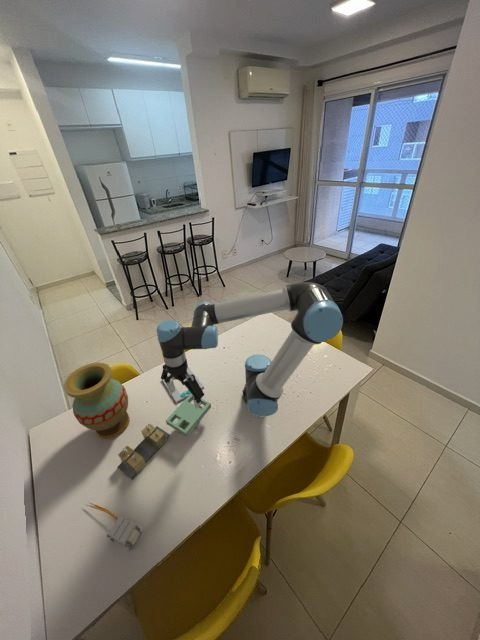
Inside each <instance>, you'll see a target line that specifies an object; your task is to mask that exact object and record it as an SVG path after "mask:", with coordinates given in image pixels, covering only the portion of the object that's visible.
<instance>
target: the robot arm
mask: <svg viewBox="0 0 480 640" xmlns="http://www.w3.org/2000/svg"><path fill="white" fill-rule="evenodd" d="M281 311H288V312H295V311H297V313H296V315H295V317H294V318H293V320H292V322H291V323H290V328H291V331H290V332H289V334H288V336H287V337H286V339H285V341H284V342H283V343H282V345H281V347H280V348H279V349H278V351H277V352H276V354H275V356H274V357H273V358H272V360H271V358H270V357H269V356H266V355H264V354H252V355H250V356H248V357H247V358H246V360H245V362H244V370H245V385H244V387H243V388H242V399H243V401H244V402H245V404H246V405H247V409H248V411H249V413H250V414H252V415H254V416H257V417H269V416H272V415H274V414H276V413H277V412H278V410H279V403H278V402H279V399H280V398H281V396H282V395H283V393H284V386H285V384H286V383H287V382H288V380H289V379H290V378H291V376H292V375H293V374H294V372H295V371H296V370H297V368H298V367H299V366H300V365H301V363H302V362H303V360H304V359H305V357H306V356H307V355H308V354H309V352H310V351H311V350H312V348H313V347H314V346H315V345H321V344H322V343H326V342H329V340H333V339H334V338H335V337H337V336H338V335H339V333H340V331H341V330H342V328H343V324H344V317H343V314H342V312H341V309H340V308H339V306H338V304H337V303H336V302H335V301H334V299H333V298H332V296H331V294H330V293H329V291H328V289H327V288H326V287H324V285H321V284H319V283H316V282H308V281H307V282H306V281H304V282H303V281H302V282H295V283H290V284H286V285H283V287H282V288H281V289H280V288H279V289H277V290H272V291H267V292H262V293H259V294H254V295H249V296H245V297H241V298H237V299H236V298H234V299H231V300H227V301H222V302H219V303H218V302H217V303H213V304H212V303H211V302H209V301H201V302H199V303H197V305H196V306H195V309H194V311H193V319H192V323H191V326H186V327H185V326H181V325H180V323H179V322H178V321H176V320H173V319H172V320H171V319H167V320H165V321H162V322H161V323H159V324H158V326H157V327H156V335H157V341H158V343H159V347H160V350H161V354H162V358H163V362H164V364H163V365H162V372H161V376H160V379H161V381H162V380H163V379H164V381H165V382H166V384H167V387H168V389H167V391H168V390H169V391H168V394H169V395H170V396H172V395H171V394H172V393H173V392H174V391H175V387H176V386H175V383H174V380H177V381H179V382H180V383H181V385H182V386H185V387H186V388H187V390H189V391H190V392H191V394H192V395H193V396H194V397H193V400H192V401H193V404H194V406H195V409H197V408H198V407H199V406H201V405H202V404H201V402H200V401H201V399H203V397H204V396H205V393H204V391H203V389H201V388H200V386H199V384H198V382H197V381H196V379H195V376H196V375H195V373H194V374H192V375H188V373H187V368H188V367H189V365H188V360H187V355H186V351H187V350H208V349H216V348H217V347H218V345H219V332H218V331H219V330H218V327H217V326H215V325H219V324H223V323H228V322H233V321H237V320H242V319H247V318H252V317H257V316H262V315H266V314H270V313H275V312H276V313H277V312H281ZM170 374H171V375H170ZM168 375H170V376H169V377H168ZM194 375H195V376H194ZM172 377H174V378H175V379H173V380H172V379H171V378H172ZM170 379H171V380H170ZM167 387H166V388H167Z"/></svg>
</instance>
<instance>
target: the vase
mask: <svg viewBox="0 0 480 640" xmlns="http://www.w3.org/2000/svg"><path fill="white" fill-rule="evenodd" d="M63 390H64V392H65V393H66V394H67V396H69V397H71V398H73V401H72V412H73V416H74V418H75V419H76V420H77V422H79V425H81V426H82V427H85V428H87V429H89V430H93V431H95V433H96V434H97V436H98V438H101V439H102V440H111V439H115V438H117V437H118V436H120V435H121V434H123V432H125V431H126V429H127V428H128V426H129V424H130V415H129V413H128V407H129V395H128V393H127V390H126V388H125V387H124V385H123V384H122V383H121V382H120V381H118V380H117V379H114V378H113V371H112V368H111V367H110V366H109V364H107V363H105V362H93V363H87V364H85V365H82V366H81V367H79V368H76V369H75V370H74V371H73V372H71V373H70V374H69V375H68V376H67V378H66V379H65V380H64V383H63Z"/></svg>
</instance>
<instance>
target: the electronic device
mask: <svg viewBox="0 0 480 640" xmlns="http://www.w3.org/2000/svg"><path fill="white" fill-rule="evenodd" d="M187 373H188V375H192V374H194V376H195V379H196V381H197V382H198V384H199V386H200V388H201V389H202V390H203V389H205V386H204V385H203V384H202V382H201V381H200V379H199V378H198V377H197V376H196V375H195V373H194V372H193V371H192V369H191V368H190V366H188V368H187ZM170 375H171V374H168V375H167V376H168V377H169V376H170ZM171 379H172V380H173V381H174V380H176V379H175V378H174V377H172V378H171ZM171 379H170V380H171ZM161 381H162V383H163V384H164V386H165V388H166V389H167V391H168V392H169V390H168V387H167V384H166V382H165V381H164V379H163V380H162V379H161ZM190 394H191V392H190V391H189V390H188V389H187V390H185V391H183V392H181V393H180V392H179V390H178V389H177V388H176V386H175V391H174V392H173V393H172V394H171V395H170V396H171V397H172V398H173V400H174V401H175V403H176V404H178V403H180V402H183V401H184V400H185V399H186V398H187V397H188V396H189V395H190Z"/></svg>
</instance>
